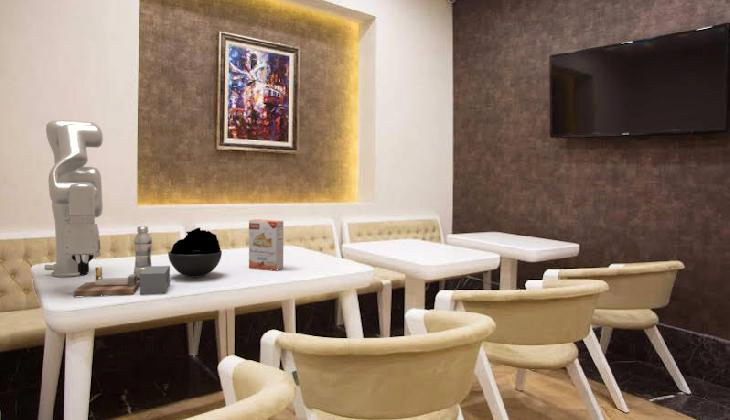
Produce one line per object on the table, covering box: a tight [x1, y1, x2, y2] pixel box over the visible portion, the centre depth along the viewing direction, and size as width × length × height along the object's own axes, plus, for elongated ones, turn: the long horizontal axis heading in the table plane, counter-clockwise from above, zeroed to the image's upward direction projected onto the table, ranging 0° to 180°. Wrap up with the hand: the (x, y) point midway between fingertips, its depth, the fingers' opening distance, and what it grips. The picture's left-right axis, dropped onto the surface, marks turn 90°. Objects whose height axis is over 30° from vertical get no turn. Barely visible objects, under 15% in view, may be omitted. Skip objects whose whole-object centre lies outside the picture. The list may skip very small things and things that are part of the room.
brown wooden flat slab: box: [73, 273, 140, 297], centre depth 181 cm, size 18×14×5 cm
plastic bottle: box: [133, 226, 153, 280], centre depth 202 cm, size 6×7×20 cm
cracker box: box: [248, 218, 284, 271], centre depth 227 cm, size 14×6×21 cm, turn 68°
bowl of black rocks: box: [167, 227, 223, 278], centre depth 208 cm, size 20×20×19 cm
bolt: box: [94, 266, 128, 285], centre depth 182 cm, size 12×2×6 cm, turn 104°
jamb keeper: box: [139, 265, 171, 295], centre depth 185 cm, size 8×14×7 cm, turn 14°
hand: (83, 274), depth 179 cm, fingers closed
